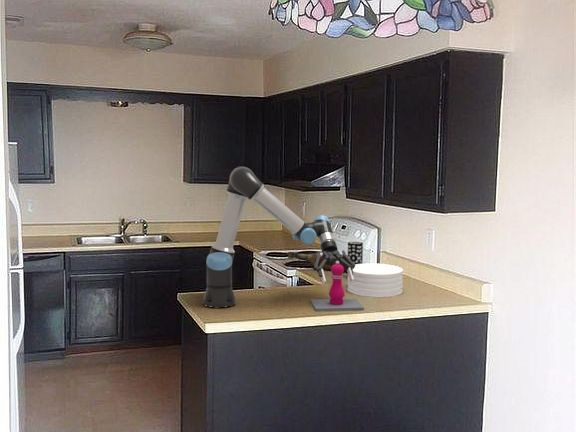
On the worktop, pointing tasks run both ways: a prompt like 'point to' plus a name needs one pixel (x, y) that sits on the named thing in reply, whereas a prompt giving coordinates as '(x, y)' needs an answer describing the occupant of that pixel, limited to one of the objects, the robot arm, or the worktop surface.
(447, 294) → the worktop surface
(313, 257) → the decorative bottle
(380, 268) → the plate stack
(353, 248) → the white-spotted black cylinder
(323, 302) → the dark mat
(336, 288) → the pepper mill
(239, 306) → the worktop surface
